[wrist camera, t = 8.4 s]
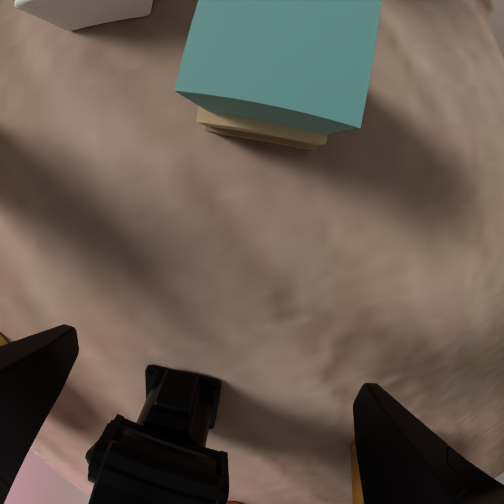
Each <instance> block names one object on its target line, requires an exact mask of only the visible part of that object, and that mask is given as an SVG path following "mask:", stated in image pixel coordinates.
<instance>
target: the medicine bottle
mask: <svg viewBox="0 0 504 504" xmlns="http://www.w3.org/2000/svg"><path fill="white" fill-rule="evenodd" d="M152 3H153V0H16V1H15V5H14V6H15V7H16V8H17V9H19V10H22V11H24V12H27V13H29V14H31V15H34V16H36V17H38V18H41V19H43V20H45V21H47V22H50V23H52V24H54V25H56V26H58V27H60V28H63V29H65V30H67V31H73V30H77V29H81V28H85V27H89V26H93V25H98V24H103V23H108V22H113V21H118V20H124V19H130V18H137V17H144V16H148V15H149V14H150V12H151V8H152Z"/></svg>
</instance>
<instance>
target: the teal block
mask: <svg viewBox="0 0 504 504" xmlns="http://www.w3.org/2000/svg"><path fill="white" fill-rule="evenodd" d="M380 8H381V0H198V3H197V7H196V10H195V13H194V17H193V20H192V23H191V27H190V30H189V34H188V38H187V41H186V45H185V49H184V53H183V57H182V61H181V65H180V69H179V73H178V77H177V82H176V86H175V90H174V91H176V92H178V93H179V94H181V95H182V96H184V97H186V98H187V99H189V100H191V101H192V102H194V103H195V104H197V105H199V106H200V107H202V108H203V109H205V110H207V111H212V112H218V113H224V114H230V115H236V116H242V117H247V118H253V119H258V120H263V121H268V122H273V123H277V124H282V125H286V126H291V127H295V128H299V129H304V130H308V131H312V132H316V133H320V134H323V135H328V134H333V133H338V132H343V131H348V130H354V129H359V128H361V123H362V118H363V113H364V108H365V103H366V98H367V92H368V87H369V81H370V76H371V70H372V64H373V58H374V51H375V45H376V38H377V31H378V23H379V16H380Z"/></svg>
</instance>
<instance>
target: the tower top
mask: <svg viewBox="0 0 504 504" xmlns="http://www.w3.org/2000/svg"><path fill="white" fill-rule="evenodd" d="M196 122H197V123H200V124H202V125H205V126H208V127H211V128H218V129H226V130H233V131H239V132H246V133H252V134H258V135H264V136H270V137H275V138H281V139H286V140H291V141H296V142H301V143H306V144H310V145H322V144H326V142H327V136H328V135H323V134H320V133H316V132H312V131H308V130H304V129H299V128H295V127H291V126H286V125H282V124H277V123H273V122H268V121H263V120H258V119H253V118H247V117H242V116H236V115H230V114H224V113H218V112H212V111H207V110H205V109H203V108H202V107H200V106H198V112H197V118H196Z"/></svg>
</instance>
